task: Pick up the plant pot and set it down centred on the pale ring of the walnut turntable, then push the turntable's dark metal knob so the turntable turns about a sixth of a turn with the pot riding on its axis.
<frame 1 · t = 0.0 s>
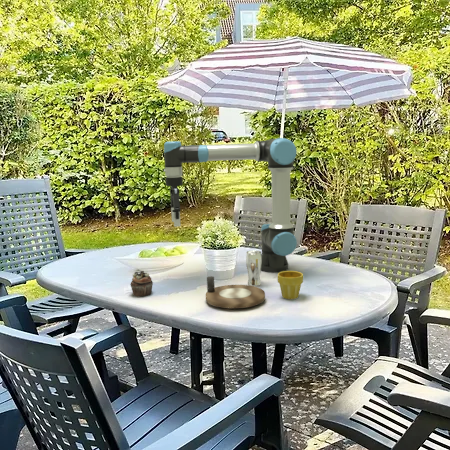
hand: (176, 223, 215), 28 cm above the table, tool pointing down, fingers open, 13 cm apart
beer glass: (254, 284, 215), on the table
plant pot: (290, 297, 196), on the table
cupcake: (142, 294, 206), on the table
turntable: (235, 288, 192), point 5 cm above the table, hinge at 0.0°
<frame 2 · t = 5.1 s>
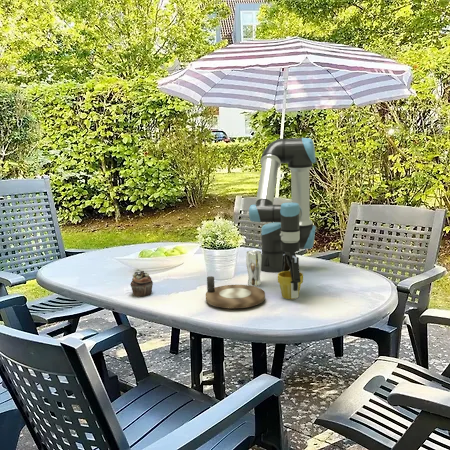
hand: (290, 293, 196), 1 cm above the table, tool pointing down, fingers closed on plant pot, 10 cm apart
plant pot: (290, 297, 196), on the table, touching gripper
everything else where it was.
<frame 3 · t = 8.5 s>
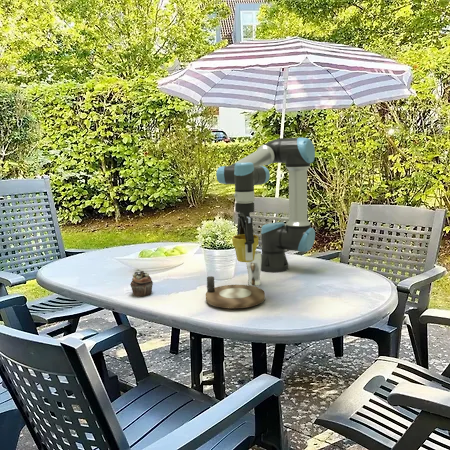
hand: (245, 257, 191), 18 cm above the table, tool pointing down, fingers closed on plant pot, 10 cm apart
plant pot: (245, 260, 191), point 17 cm above the table, touching gripper
everything else where it was.
when the fingers open (6 cm above the table, at t = 11.7 s): plant pot moves 1 cm, resting on turntable.
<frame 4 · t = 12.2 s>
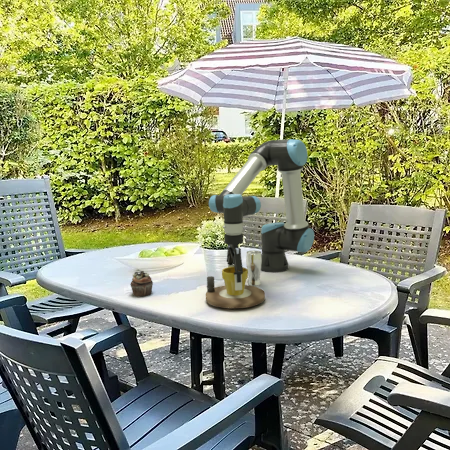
hand: (235, 285, 192), 7 cm above the table, tool pointing down, fingers open, 13 cm apart
plant pot: (235, 293, 192), point 3 cm above the table, touching turntable
turntable: (235, 288, 192), point 5 cm above the table, hinge at 0.0°, touching plant pot
everything else where it was.
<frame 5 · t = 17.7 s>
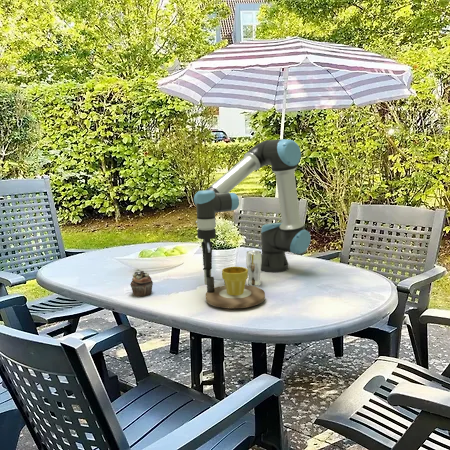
hand: (207, 283, 199), 6 cm above the table, tool pointing down, fingers closed
turntable: (235, 288, 192), point 5 cm above the table, hinge at 1.5°, touching plant pot, gripper
everything else where it was.
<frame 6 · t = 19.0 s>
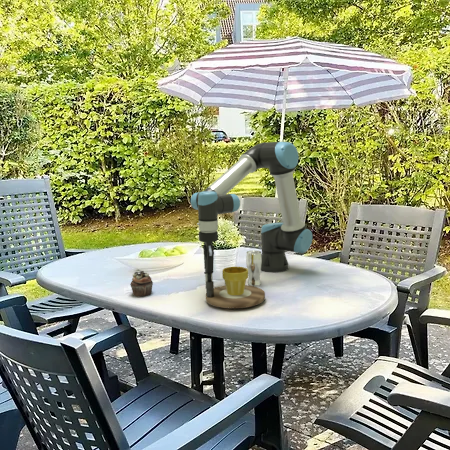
hand: (209, 288, 192), 6 cm above the table, tool pointing down, fingers closed
turntable: (235, 288, 192), point 5 cm above the table, hinge at 36.0°, touching plant pot, gripper
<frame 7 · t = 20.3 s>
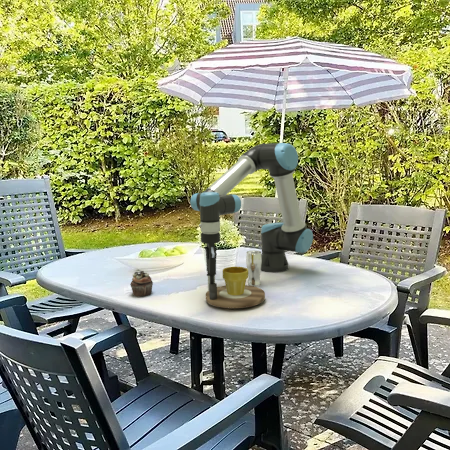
hand: (211, 290, 189), 6 cm above the table, tool pointing down, fingers closed
turntable: (235, 288, 192), point 5 cm above the table, hinge at 53.2°, touching plant pot, gripper
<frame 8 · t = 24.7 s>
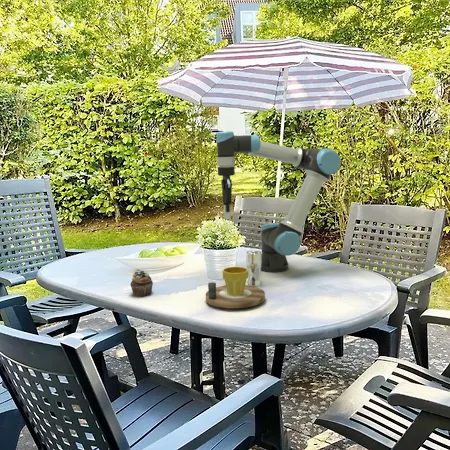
hand: (227, 218, 216), 29 cm above the table, tool pointing down, fingers closed
turntable: (235, 288, 192), point 5 cm above the table, hinge at 49.8°, touching plant pot
at the end: plant pot 0.3 cm from the turntable (horizontally); plant pot tilted 0°; turntable at +50° (first picture: +0°) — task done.
